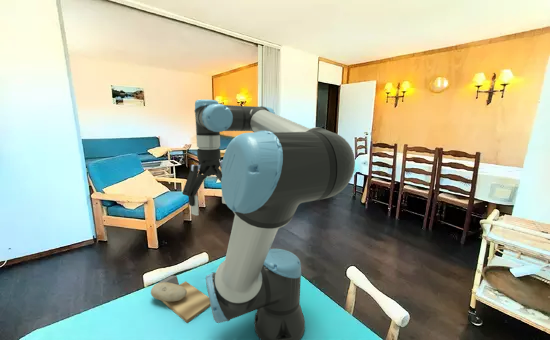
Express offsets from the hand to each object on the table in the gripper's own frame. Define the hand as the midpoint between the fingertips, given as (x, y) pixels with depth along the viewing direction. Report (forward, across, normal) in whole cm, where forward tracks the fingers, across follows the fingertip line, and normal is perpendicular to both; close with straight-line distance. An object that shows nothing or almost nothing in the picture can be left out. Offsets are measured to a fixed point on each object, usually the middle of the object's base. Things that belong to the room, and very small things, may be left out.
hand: (211, 208), depth 84 cm
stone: (+27, +12, 0) cm, 30 cm away
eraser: (+29, +12, -10) cm, 33 cm away
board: (+30, +12, -1) cm, 32 cm away
